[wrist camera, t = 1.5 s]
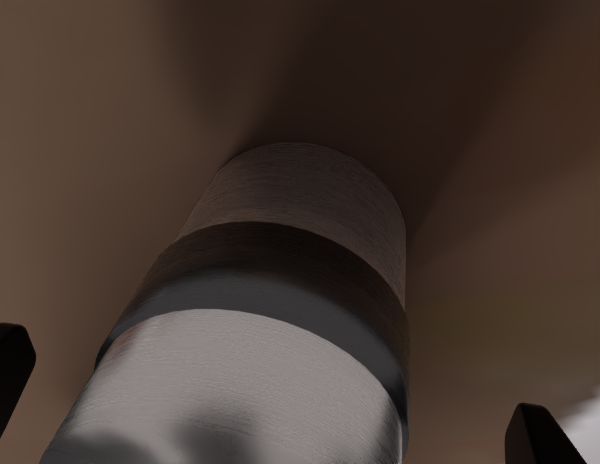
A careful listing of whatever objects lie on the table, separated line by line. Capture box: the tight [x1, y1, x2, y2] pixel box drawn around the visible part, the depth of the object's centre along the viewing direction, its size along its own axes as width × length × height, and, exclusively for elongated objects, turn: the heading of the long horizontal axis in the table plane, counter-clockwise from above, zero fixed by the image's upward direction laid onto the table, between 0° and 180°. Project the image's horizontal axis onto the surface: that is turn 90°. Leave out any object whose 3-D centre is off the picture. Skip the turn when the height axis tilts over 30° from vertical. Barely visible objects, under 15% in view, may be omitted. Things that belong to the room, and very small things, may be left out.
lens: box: [39, 142, 410, 464], centre depth 10 cm, size 5×5×7 cm
